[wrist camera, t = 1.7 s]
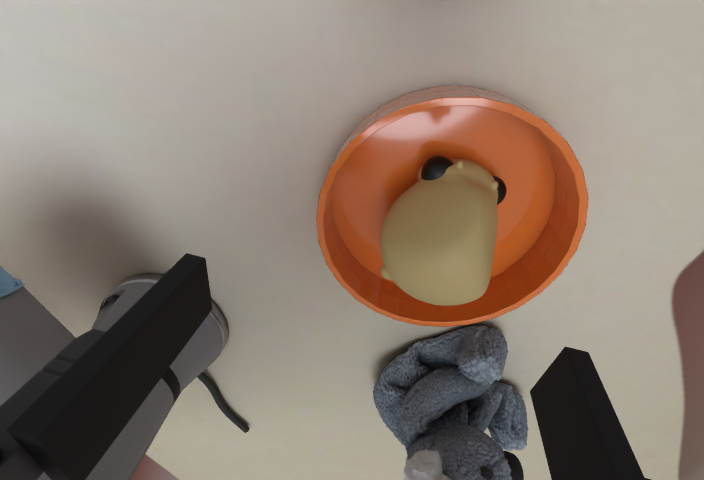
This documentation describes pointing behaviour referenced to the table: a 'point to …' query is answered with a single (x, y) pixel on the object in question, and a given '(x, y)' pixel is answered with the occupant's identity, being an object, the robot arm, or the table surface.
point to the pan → (454, 143)
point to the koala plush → (454, 407)
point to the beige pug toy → (443, 232)
